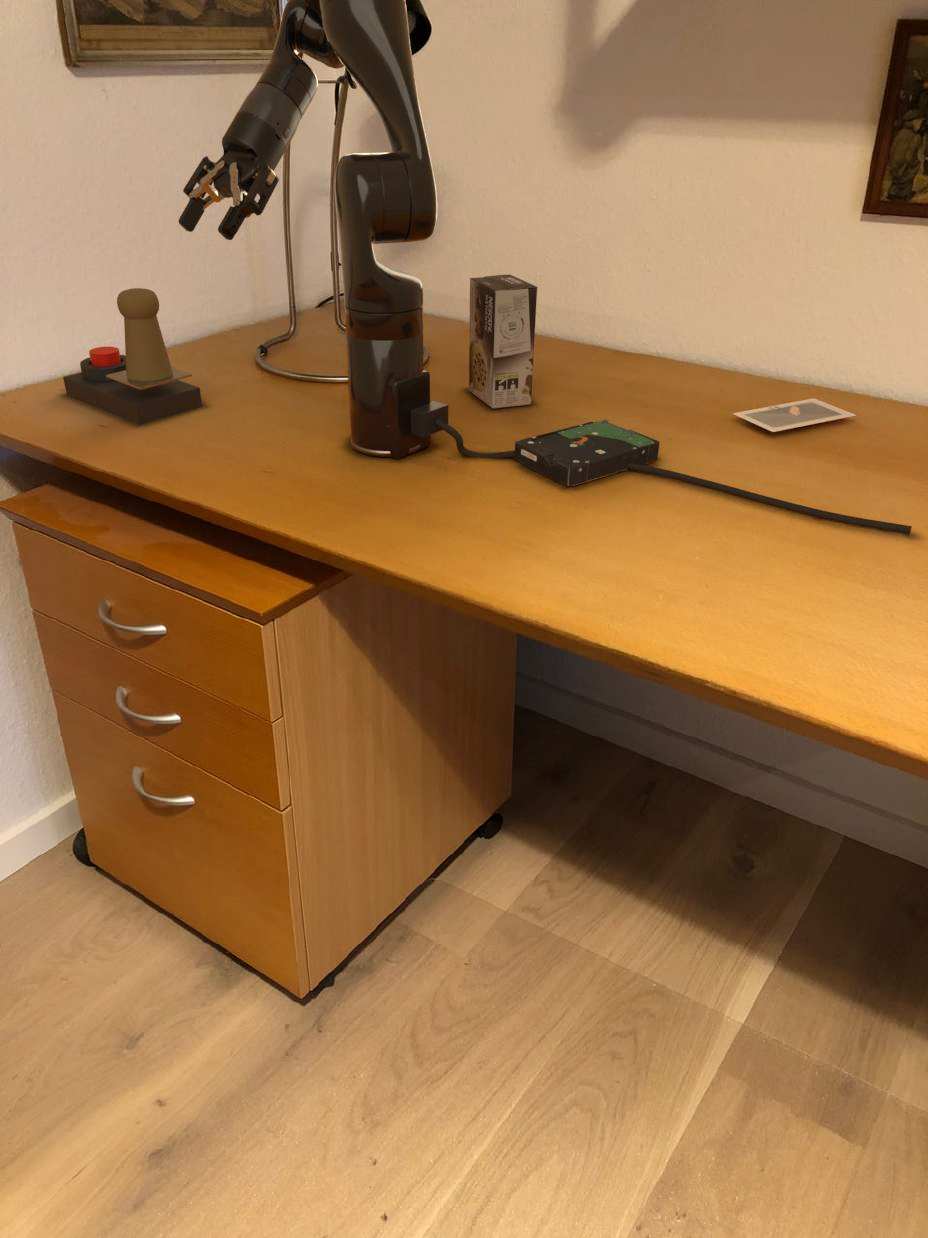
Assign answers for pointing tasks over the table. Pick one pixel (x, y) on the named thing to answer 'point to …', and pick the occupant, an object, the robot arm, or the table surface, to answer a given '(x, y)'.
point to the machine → (130, 394)
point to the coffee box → (501, 340)
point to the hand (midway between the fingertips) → (203, 231)
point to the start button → (104, 356)
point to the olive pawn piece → (143, 336)
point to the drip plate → (147, 384)
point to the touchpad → (793, 414)
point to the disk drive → (585, 452)
